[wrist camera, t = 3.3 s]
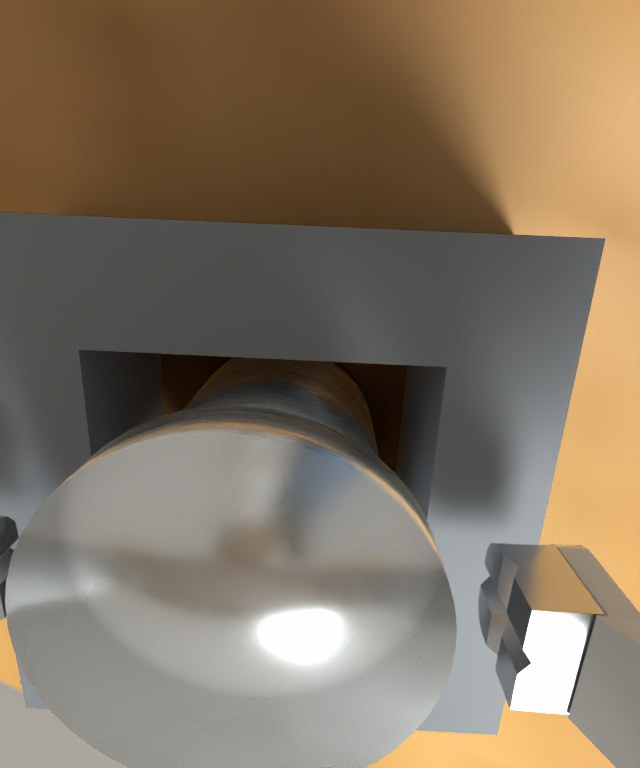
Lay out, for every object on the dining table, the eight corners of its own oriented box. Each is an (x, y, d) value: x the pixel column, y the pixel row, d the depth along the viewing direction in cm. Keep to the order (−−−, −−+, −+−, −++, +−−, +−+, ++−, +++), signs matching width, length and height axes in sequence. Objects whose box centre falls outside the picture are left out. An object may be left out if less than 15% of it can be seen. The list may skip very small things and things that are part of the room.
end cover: (164, 317, 12) (-34, 422, 6) (404, 329, 12) (489, 448, 6) (177, 524, 14) (39, 782, 8) (384, 534, 14) (429, 805, 8)
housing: (59, 215, 12) (-76, 208, 8) (514, 235, 11) (604, 239, 8) (104, 586, 15) (26, 708, 11) (455, 605, 15) (497, 735, 11)
